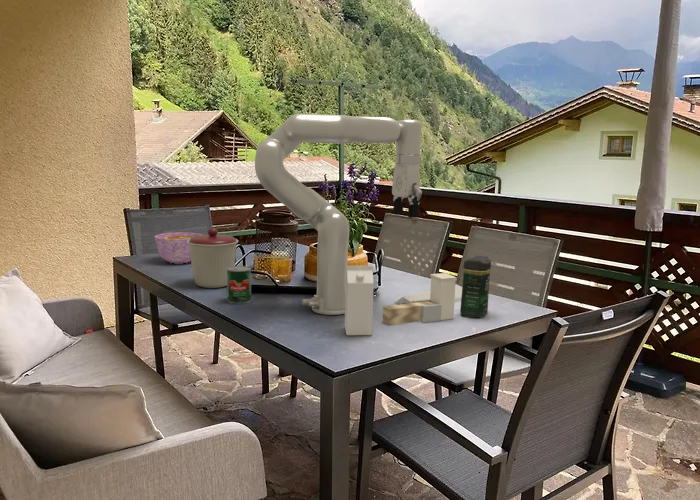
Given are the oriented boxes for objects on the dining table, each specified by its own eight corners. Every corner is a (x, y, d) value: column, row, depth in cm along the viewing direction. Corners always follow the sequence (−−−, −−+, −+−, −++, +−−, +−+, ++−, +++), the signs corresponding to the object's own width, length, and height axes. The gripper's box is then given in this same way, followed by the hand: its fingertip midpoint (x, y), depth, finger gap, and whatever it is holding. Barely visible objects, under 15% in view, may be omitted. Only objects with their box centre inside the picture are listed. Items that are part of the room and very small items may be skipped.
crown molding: (422, 312, 190) (422, 301, 189) (393, 304, 199) (393, 294, 198) (474, 298, 210) (474, 288, 209) (446, 291, 219) (446, 282, 218)
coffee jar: (482, 320, 182) (486, 260, 178) (457, 316, 185) (460, 257, 182) (490, 312, 190) (494, 255, 187) (466, 308, 194) (470, 252, 191)
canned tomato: (245, 296, 203) (244, 264, 201) (255, 301, 196) (255, 269, 194) (223, 299, 198) (222, 267, 196) (233, 305, 192) (233, 271, 190)
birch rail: (388, 326, 175) (389, 309, 174) (382, 322, 178) (383, 306, 177) (433, 319, 182) (434, 304, 181) (427, 316, 185) (427, 301, 184)
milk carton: (344, 327, 171) (346, 263, 168) (369, 327, 172) (371, 263, 168) (346, 335, 164) (348, 268, 161) (372, 335, 165) (374, 268, 161)
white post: (423, 322, 178) (425, 280, 175) (411, 316, 184) (413, 275, 182) (455, 319, 182) (457, 277, 180) (442, 312, 189) (444, 272, 186)
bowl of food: (160, 257, 264) (159, 232, 262) (206, 257, 266) (206, 232, 264) (150, 267, 245) (149, 239, 243) (200, 267, 247) (199, 239, 245)
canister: (180, 283, 219) (178, 226, 215) (224, 277, 230) (224, 223, 226) (201, 293, 205) (199, 233, 201) (247, 286, 216) (247, 229, 212)
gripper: (384, 159, 190) (382, 212, 193) (410, 161, 174) (408, 219, 177) (404, 159, 193) (402, 212, 196) (432, 161, 177) (429, 218, 180)
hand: (405, 215), depth 187 cm, fingers open, 9 cm apart
